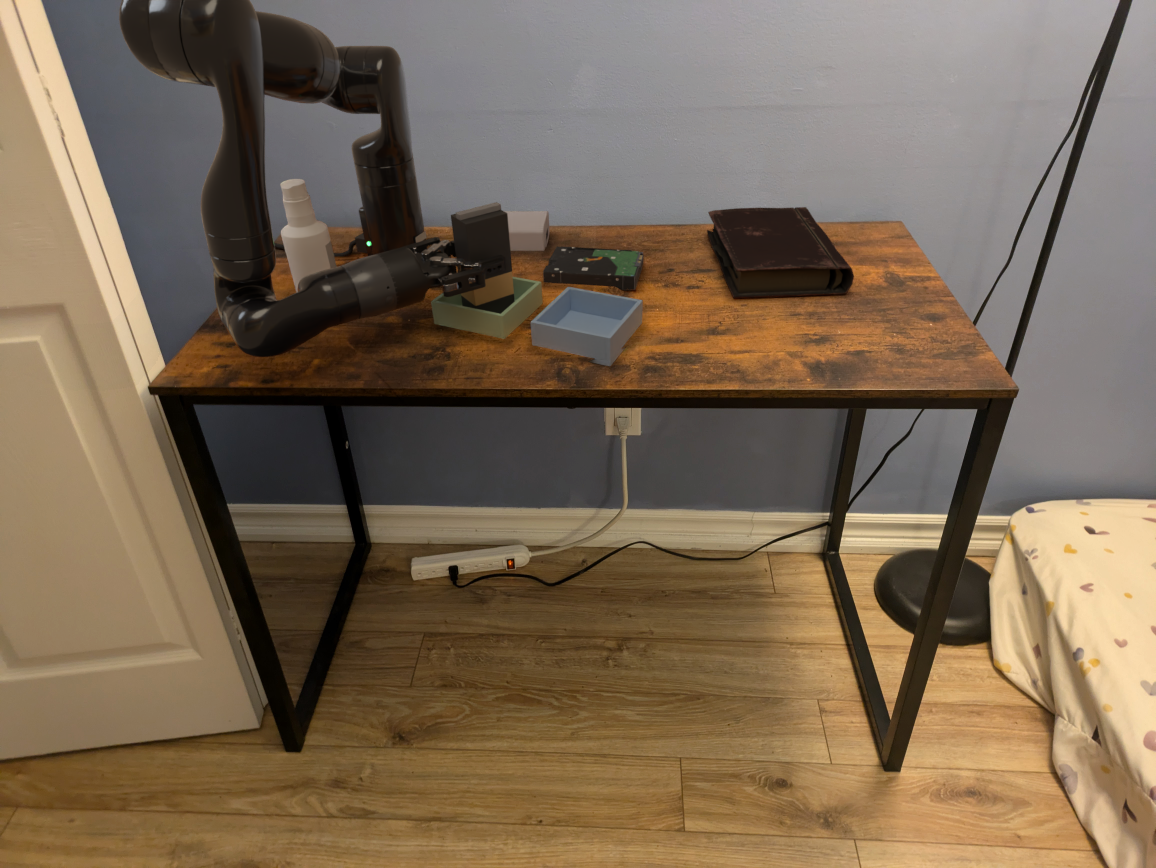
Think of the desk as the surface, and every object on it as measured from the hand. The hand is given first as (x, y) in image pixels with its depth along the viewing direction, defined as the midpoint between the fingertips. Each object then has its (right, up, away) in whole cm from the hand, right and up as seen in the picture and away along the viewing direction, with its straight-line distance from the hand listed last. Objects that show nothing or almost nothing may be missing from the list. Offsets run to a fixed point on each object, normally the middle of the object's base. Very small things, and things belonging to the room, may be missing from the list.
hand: (489, 252), depth 107 cm
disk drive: (+15, 0, +16) cm, 22 cm away
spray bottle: (-28, -4, +13) cm, 31 cm away
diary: (+44, +2, +18) cm, 48 cm away
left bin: (-1, -8, +6) cm, 10 cm away
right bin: (+14, -12, 0) cm, 18 cm away
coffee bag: (-1, -8, +5) cm, 9 cm away
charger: (0, +8, +28) cm, 29 cm away
